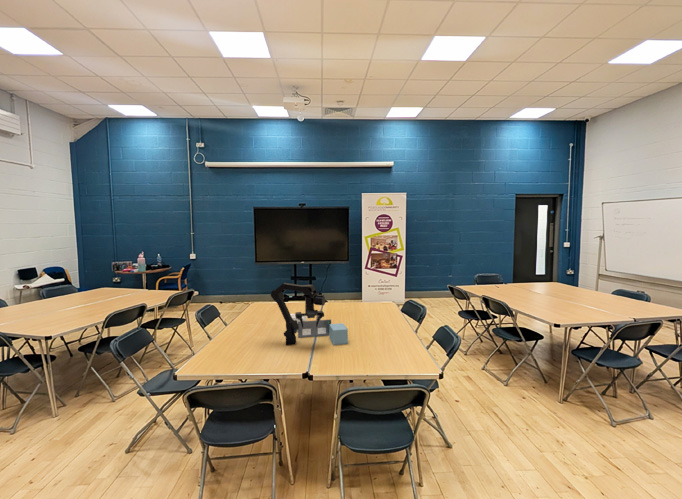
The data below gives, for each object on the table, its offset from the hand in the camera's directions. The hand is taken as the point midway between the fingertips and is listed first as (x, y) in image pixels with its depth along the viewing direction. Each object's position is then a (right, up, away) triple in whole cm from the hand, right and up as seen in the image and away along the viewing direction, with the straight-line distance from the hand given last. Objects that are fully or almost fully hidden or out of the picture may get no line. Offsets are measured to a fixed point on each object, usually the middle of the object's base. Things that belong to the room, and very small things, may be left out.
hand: (309, 327), depth 208 cm
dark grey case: (+6, -12, +12) cm, 18 cm away
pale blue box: (+19, -12, +9) cm, 24 cm away
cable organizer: (-14, -11, +34) cm, 39 cm away
